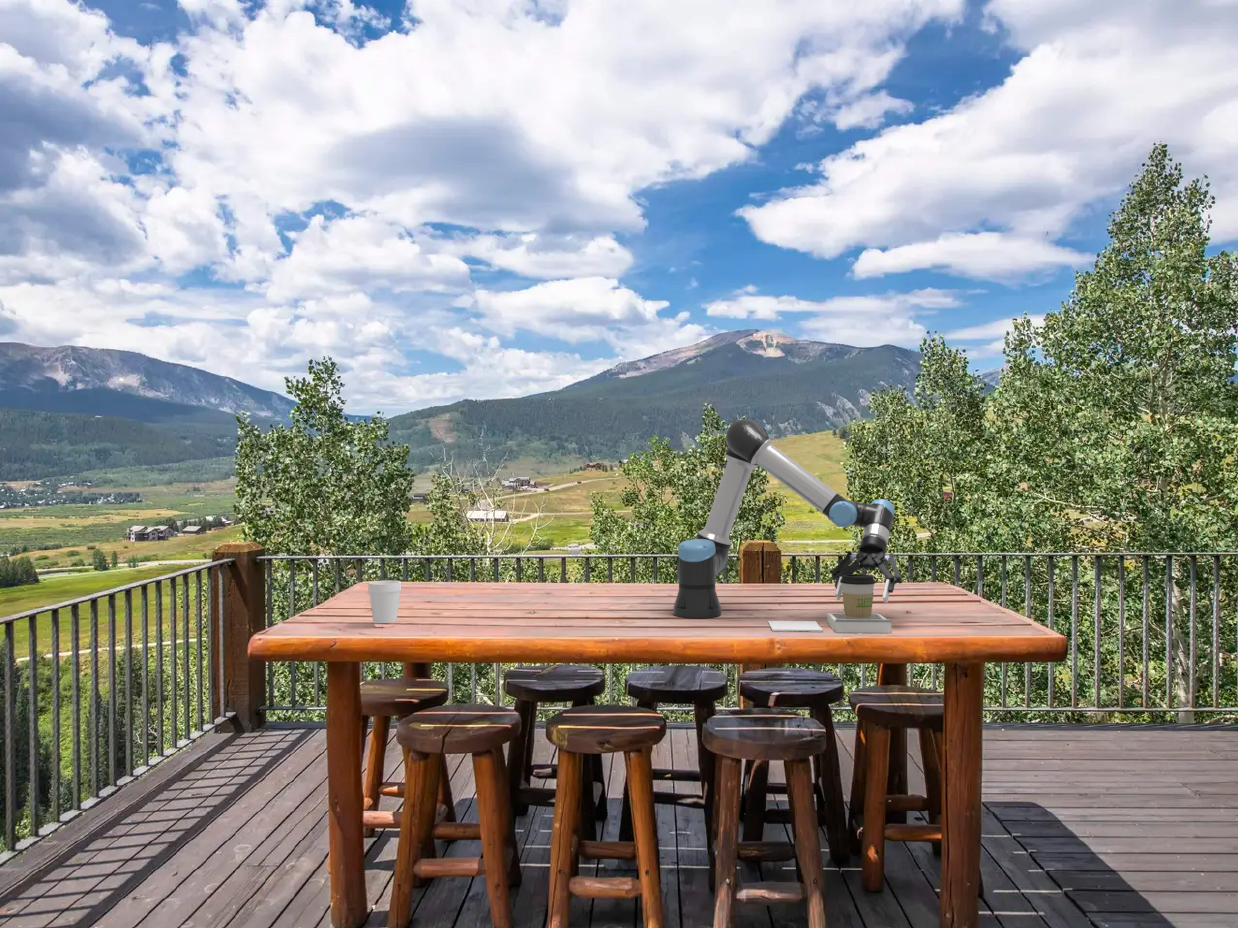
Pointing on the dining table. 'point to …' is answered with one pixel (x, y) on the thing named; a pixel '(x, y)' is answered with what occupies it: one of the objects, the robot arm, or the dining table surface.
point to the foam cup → (384, 600)
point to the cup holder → (859, 624)
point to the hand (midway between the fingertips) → (860, 598)
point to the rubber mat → (795, 626)
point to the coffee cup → (857, 595)
